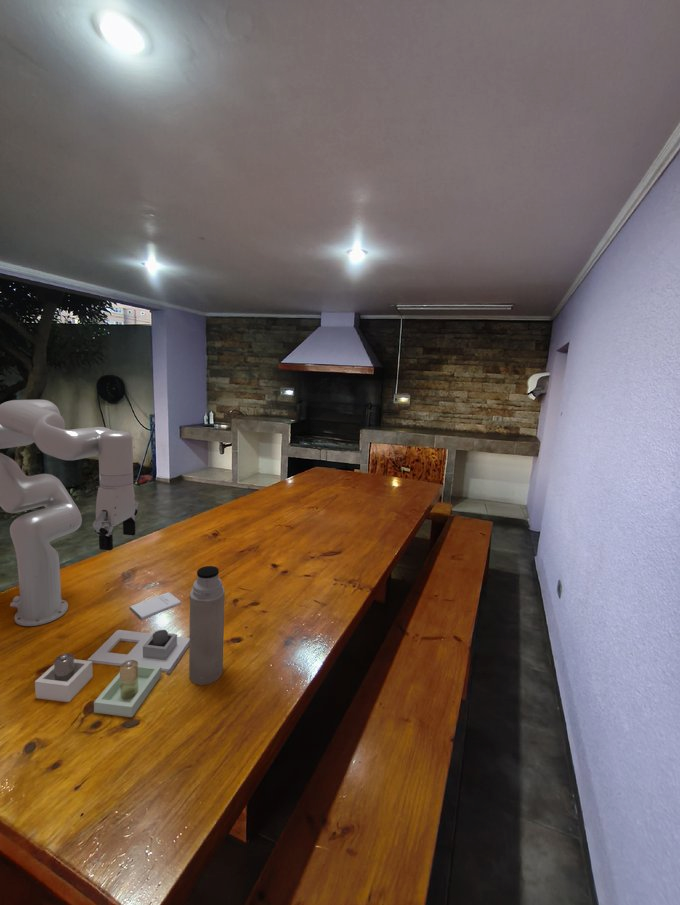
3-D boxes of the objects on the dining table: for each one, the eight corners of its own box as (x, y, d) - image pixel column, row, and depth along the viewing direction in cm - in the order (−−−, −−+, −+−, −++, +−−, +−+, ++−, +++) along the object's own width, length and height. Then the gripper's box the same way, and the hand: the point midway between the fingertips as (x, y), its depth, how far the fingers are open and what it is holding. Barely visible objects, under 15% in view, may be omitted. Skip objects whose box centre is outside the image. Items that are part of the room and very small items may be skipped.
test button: (149, 651, 101) (149, 638, 100) (157, 642, 104) (157, 629, 103) (163, 653, 100) (163, 639, 100) (170, 644, 104) (170, 630, 103)
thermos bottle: (195, 660, 102) (196, 561, 97) (226, 662, 102) (228, 563, 97) (184, 684, 94) (185, 577, 89) (217, 685, 94) (220, 579, 89)
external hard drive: (129, 610, 121) (168, 595, 131) (141, 622, 116) (180, 605, 126) (129, 605, 121) (168, 591, 131) (141, 617, 116) (180, 601, 126)
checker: (87, 664, 98) (87, 648, 97) (117, 634, 109) (117, 620, 109) (169, 674, 97) (169, 658, 96) (190, 642, 108) (190, 628, 108)
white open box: (36, 701, 86) (34, 681, 85) (62, 675, 94) (61, 657, 93) (69, 705, 86) (68, 685, 85) (92, 679, 93) (92, 661, 92)
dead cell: (51, 691, 88) (49, 660, 86) (63, 679, 91) (62, 649, 90) (67, 693, 88) (65, 662, 86) (78, 681, 91) (77, 651, 90)
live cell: (117, 698, 88) (116, 667, 86) (126, 686, 91) (125, 656, 90) (132, 700, 87) (131, 669, 86) (141, 688, 91) (141, 657, 89)
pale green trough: (94, 715, 84) (93, 702, 83) (127, 674, 96) (127, 662, 95) (132, 720, 83) (131, 707, 83) (161, 678, 95) (161, 666, 95)
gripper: (123, 470, 109) (124, 528, 112) (78, 486, 92) (81, 554, 95) (149, 473, 108) (149, 531, 112) (108, 489, 91) (110, 557, 95)
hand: (118, 541), depth 103 cm, fingers open, 9 cm apart
